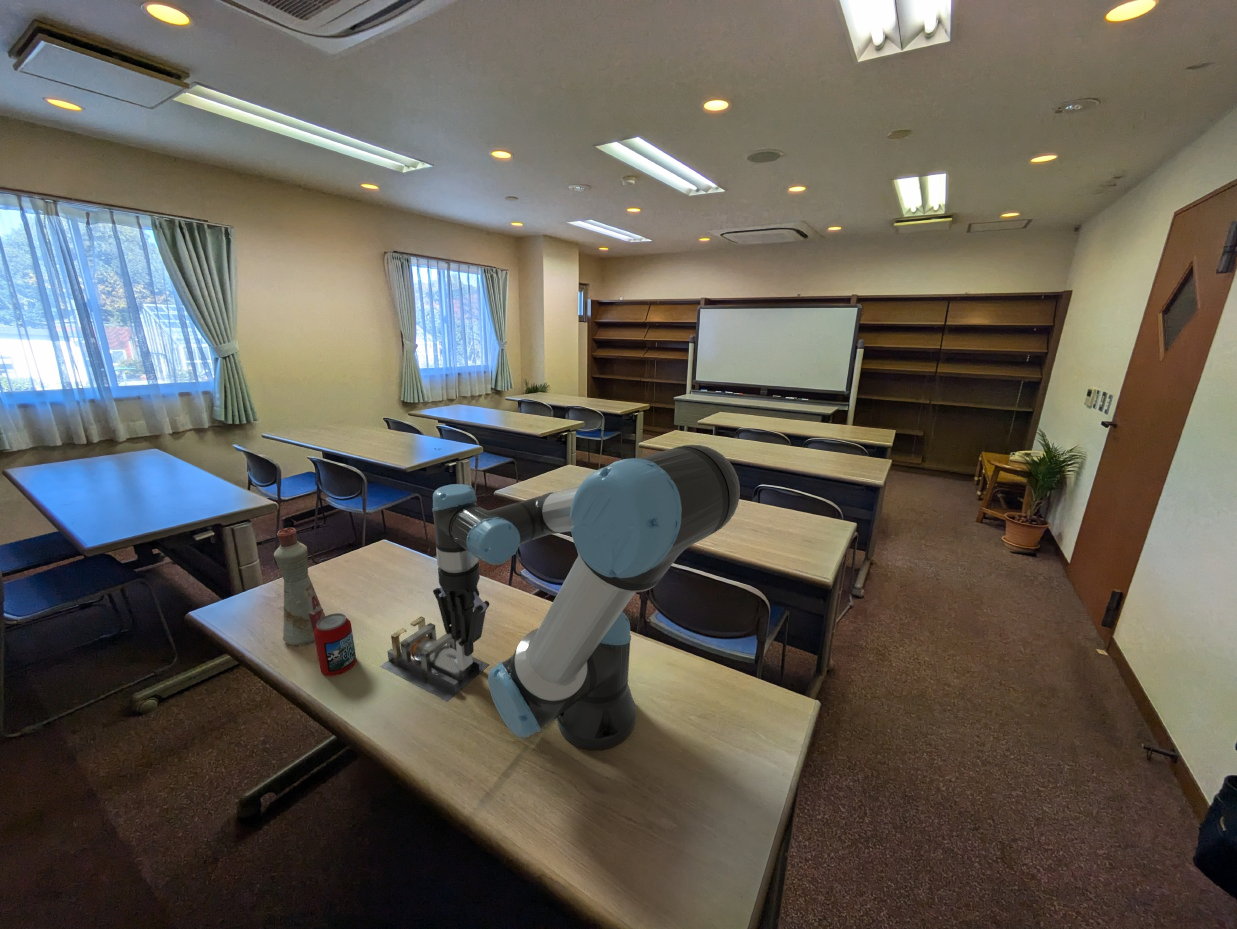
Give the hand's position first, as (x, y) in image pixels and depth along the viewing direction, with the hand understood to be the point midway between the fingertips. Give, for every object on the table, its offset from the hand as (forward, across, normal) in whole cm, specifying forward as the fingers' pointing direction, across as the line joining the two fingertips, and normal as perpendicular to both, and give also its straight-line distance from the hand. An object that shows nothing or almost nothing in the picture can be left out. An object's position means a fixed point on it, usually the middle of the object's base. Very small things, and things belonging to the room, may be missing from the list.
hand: (465, 665), depth 96 cm
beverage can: (+5, +27, +10) cm, 29 cm away
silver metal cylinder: (+4, +8, 0) cm, 9 cm away
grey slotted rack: (+5, +9, 0) cm, 10 cm away
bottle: (+5, +44, +7) cm, 45 cm away
